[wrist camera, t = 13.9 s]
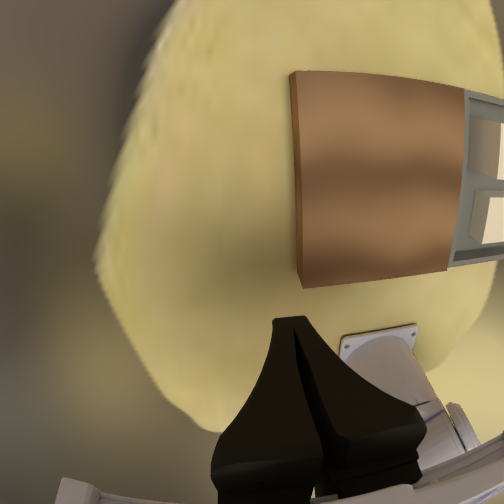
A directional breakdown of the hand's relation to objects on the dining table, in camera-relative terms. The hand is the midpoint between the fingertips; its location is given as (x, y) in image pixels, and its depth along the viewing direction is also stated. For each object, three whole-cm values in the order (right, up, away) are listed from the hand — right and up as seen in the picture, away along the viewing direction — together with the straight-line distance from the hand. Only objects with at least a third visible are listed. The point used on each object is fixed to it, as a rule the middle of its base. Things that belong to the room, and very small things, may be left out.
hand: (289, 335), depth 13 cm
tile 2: (+19, +6, +7) cm, 21 cm away
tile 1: (+15, +11, +4) cm, 19 cm away
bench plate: (+7, +9, +8) cm, 14 cm away
